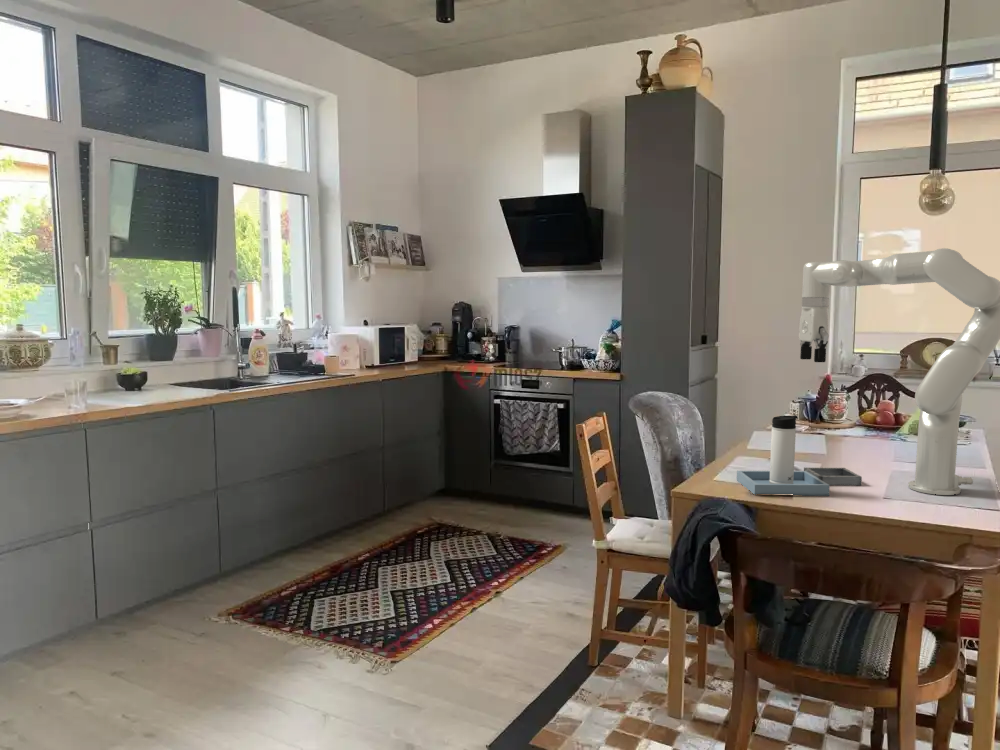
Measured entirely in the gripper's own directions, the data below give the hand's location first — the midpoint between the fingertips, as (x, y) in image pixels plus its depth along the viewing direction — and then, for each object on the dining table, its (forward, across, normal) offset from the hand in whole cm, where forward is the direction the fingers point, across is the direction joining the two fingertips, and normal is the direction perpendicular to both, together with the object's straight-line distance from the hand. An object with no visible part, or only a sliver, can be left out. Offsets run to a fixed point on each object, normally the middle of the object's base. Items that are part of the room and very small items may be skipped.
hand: (812, 360), depth 224 cm
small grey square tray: (+34, +11, +2) cm, 36 cm away
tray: (+34, +20, -16) cm, 42 cm away
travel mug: (+34, +20, -16) cm, 42 cm away
